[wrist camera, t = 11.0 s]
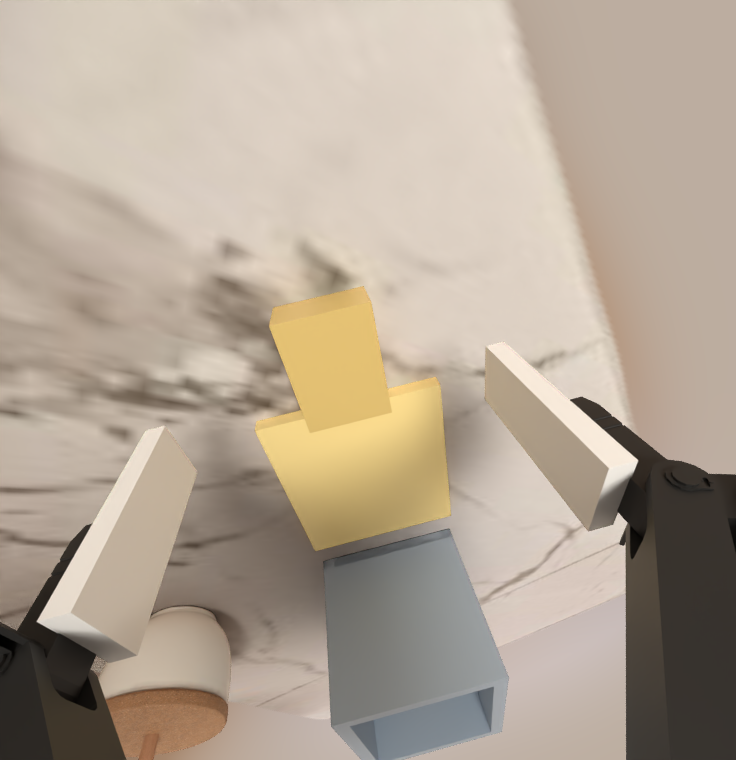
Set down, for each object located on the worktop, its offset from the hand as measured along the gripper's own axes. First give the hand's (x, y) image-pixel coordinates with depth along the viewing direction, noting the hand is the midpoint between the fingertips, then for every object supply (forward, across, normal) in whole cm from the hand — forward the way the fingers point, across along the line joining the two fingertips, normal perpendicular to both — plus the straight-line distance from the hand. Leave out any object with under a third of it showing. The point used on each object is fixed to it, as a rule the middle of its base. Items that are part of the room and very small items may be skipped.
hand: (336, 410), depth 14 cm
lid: (+7, 0, -8) cm, 10 cm away
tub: (+6, 0, -28) cm, 29 cm away
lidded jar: (+7, -21, -26) cm, 34 cm away
